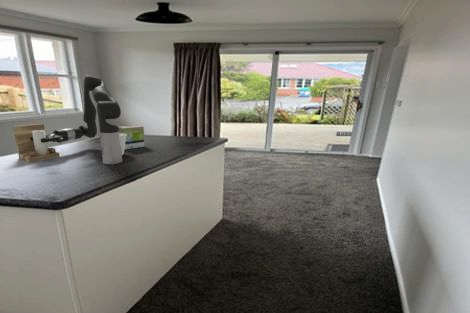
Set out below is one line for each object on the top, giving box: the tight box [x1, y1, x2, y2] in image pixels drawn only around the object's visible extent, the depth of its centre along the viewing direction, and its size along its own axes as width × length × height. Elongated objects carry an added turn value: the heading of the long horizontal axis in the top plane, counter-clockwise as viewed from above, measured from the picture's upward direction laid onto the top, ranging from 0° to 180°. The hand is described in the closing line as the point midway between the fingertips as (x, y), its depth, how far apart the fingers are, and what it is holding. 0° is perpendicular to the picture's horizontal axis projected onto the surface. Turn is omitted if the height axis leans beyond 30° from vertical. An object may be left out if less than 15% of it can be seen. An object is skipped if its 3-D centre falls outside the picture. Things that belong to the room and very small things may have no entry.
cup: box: [119, 133, 126, 156], centre depth 152 cm, size 12×12×12 cm
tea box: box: [117, 124, 145, 151], centre depth 172 cm, size 15×10×15 cm, turn 143°
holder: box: [12, 123, 60, 163], centre depth 139 cm, size 14×14×18 cm
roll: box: [32, 130, 49, 155], centre depth 138 cm, size 6×6×13 cm
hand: (35, 140), depth 135 cm, fingers open, 8 cm apart
